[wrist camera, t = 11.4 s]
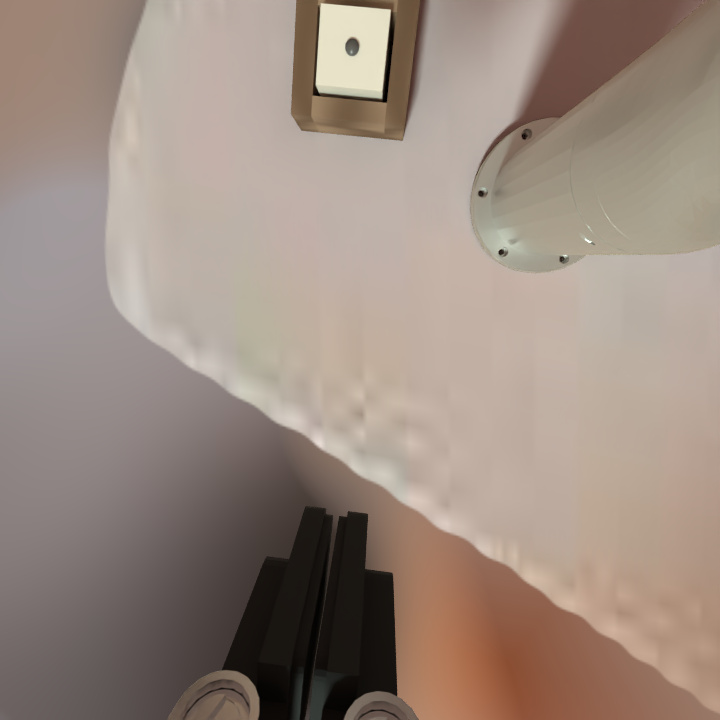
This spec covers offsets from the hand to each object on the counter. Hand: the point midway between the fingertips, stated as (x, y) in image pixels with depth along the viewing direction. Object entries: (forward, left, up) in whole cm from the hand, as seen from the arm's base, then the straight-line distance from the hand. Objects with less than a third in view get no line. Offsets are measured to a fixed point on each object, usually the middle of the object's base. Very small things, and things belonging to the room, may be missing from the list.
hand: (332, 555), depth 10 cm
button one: (+3, -22, -29) cm, 37 cm away
